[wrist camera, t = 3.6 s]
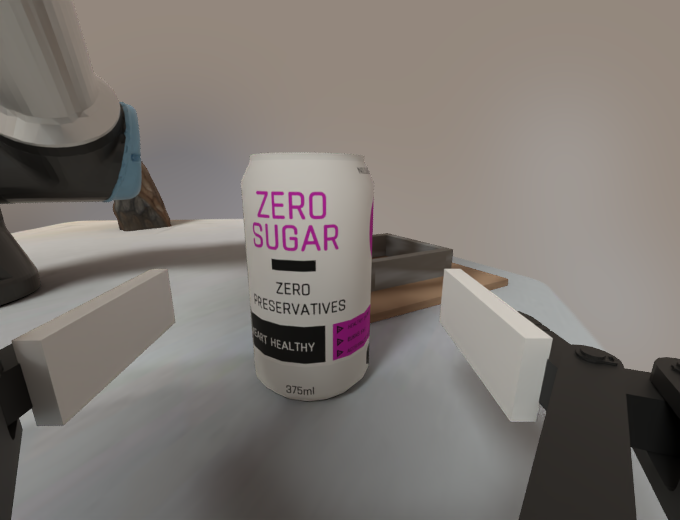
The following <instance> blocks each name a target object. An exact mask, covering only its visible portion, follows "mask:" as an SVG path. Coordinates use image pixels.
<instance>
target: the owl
mask: <svg viewBox="0 0 680 520" xmlns="http://www.w3.org/2000/svg"><path fill="white" fill-rule="evenodd" d="M141 173H142V179H141V190H140V192H139V194H138V195H137V196H136V197H134V198H132V199H125V200H114V204H113V212H114V214H115V216H116V217H117V220H118V224H119V228H120V230H123V231H135V230H144V229H152V228H161V227H169V226H171V224H170V218H169V216H168V213H167V211H166V209H165V206H164V203H163V201H162V199H161V196H160V194H159V192H158V190H157V188H156V186H155V184H154V182H153V180H152V178H151V176H150V174H149V172H148V170H147V168H146V167H145V165H144V164H143V163H142V161H141Z"/></svg>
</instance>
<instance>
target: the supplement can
mask: <svg viewBox="0 0 680 520" xmlns="http://www.w3.org/2000/svg"><path fill="white" fill-rule="evenodd" d="M241 191H242V204H243V218H244V231H245V244H246V257H247V270H248V283H249V296H250V309H251V322H252V335H253V348H254V361H255V369H256V375H257V378H258V379H259V380H260V381H261V382H262V383H263V384H264V385H265V386H266V387H267V388H269V389H271V390H273V391H274V392H275V393H277V394H279V395H282V396H284V397H286V398H288V399H294V400H302V401H314V400H323V399H328V398H331V397H334V396H336V395H339V394H342V393H344V392H345V391H346V390H348V389H349V388H350V387H352V386H353V385H354V384H355V383H357V382H358V381H359V380H360V379H362V378H363V376H364V374H365V372H366V370H367V368H368V365H369V332H370V299H371V266H372V232H373V200H374V181H373V179H372V177H371V175H370V173H369V171H368V168H367V166H366V164H365V162H364V156H362V155H354V154H339V153H261V154H251V155H250V162H249V165H248V167H247V169H246V171H245V174H244V176H243V178H242V180H241Z"/></svg>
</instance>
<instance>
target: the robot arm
mask: <svg viewBox="0 0 680 520" xmlns="http://www.w3.org/2000/svg"><path fill="white" fill-rule="evenodd" d="M140 156H141V154H140V135H139V125H138V118H137V113H136V110H135V109H134V108H133V107H132V106H131V105H127V104H125V103H123V102H119V100H118V98H117V96H116V94H115V92H114V90H113V89H112V88H111V87H110V86H109V84H107V82H105V81H104V80H103V79H102V78H100V77H99V76H98V75H96V74H95V73H94V71H93V68H92V65H91V61H90V58H89V54H88V51H87V47H86V44H85V41H84V37H83V34H82V31H81V27H80V24H79V20H78V17H77V13H76V10H75V6H74V3H73V0H0V204H8V203H45V202H110V201H112V200H125V199H132V198H134V197H136V196H137V195H138V194H139V192H140V190H141V179H142V173H141V158H140ZM40 286H41V282H40V278H39V274H38V270H37V268H36V266H35V265H34V264H33V262H32V261H31V260H30V258H29V257H28V256H27V255H26V253H25V252H24V251H23V249H22V248H21V247H20V245H19V244H18V243H17V241H16V240H15V239H14V237H13V236H12V235H11V233H10V232H9V231H8V230H7V228H6V226H5V223H4V220H3V216H2V213H1V209H0V305H2V304H6V303H9V302H11V301H14V300H17V299H19V298H22V297H24V296H26V295H29V294H31V293H32V292H34V291H36V290H37V289H38V288H39V287H40ZM439 322H440V323H441V324H442V326H443V327H444V329H445V330H446V332H447V333H448V334H449V336H450V337H451V339H452V340H453V341H454V343H455V344H456V346H457V347H458V348H459V350H460V351H461V353H462V354H463V355H464V357H465V358H466V360H467V361H468V363H469V364H470V365H471V367H472V368H473V370H474V371H475V372H476V374H477V375H478V377H479V378H480V379H481V381H482V382H483V384H484V385H485V386H486V388H487V389H488V391H489V392H490V394H491V395H492V396H493V398H494V399H495V401H496V402H497V403H498V405H499V406H500V408H501V409H502V410H503V412H504V413H505V415H506V416H507V417H508V419H509V420H510V422H536V420H537V415H538V410H539V405H540V404H541V406H542V407H543V408H544V409H545V410H546V411H547V412H546V416H545V420H544V424H543V428H542V432H541V435H540V439H539V443H538V447H537V451H536V455H535V459H534V462H533V466H532V470H531V474H530V478H529V482H528V486H527V489H526V493H525V497H524V501H523V505H522V509H521V513H520V516H519V520H637V519H636V508H635V496H634V484H633V472H632V460H631V448H630V447H632V448H633V450H634V452H635V454H636V456H637V458H638V460H639V462H640V464H641V466H642V468H643V470H644V472H645V474H646V476H647V478H648V480H649V482H650V484H651V486H652V488H653V490H654V492H655V494H656V496H657V498H658V500H659V502H660V504H661V506H662V508H663V510H664V512H665V514H666V516H667V518H668V520H680V359H676V358H668V357H665V358H658V359H657V360H656V361H655V362H654V365H653V369H652V372H651V373H649V372H643V371H636V370H631V369H625V368H624V366H623V364H622V362H621V361H620V360H619V359H617V358H616V357H615V356H613V355H611V354H609V353H607V352H605V351H602V350H599V349H596V348H593V347H589V346H584V345H571V344H569V343H568V342H566V341H565V340H564V339H562V338H561V337H559V336H558V335H557V334H555V333H554V332H552V331H550V329H548V328H547V327H546V326H544V325H542V324H541V323H540V322H539V321H537V320H536V319H534V318H533V317H531V316H529V315H527V314H524V313H522V312H520V311H516V310H514V309H513V308H512V307H510V306H509V305H508V304H506V303H505V302H504V301H502V300H501V299H500V298H498V297H497V296H496V295H494V294H493V293H492V292H490V291H489V290H488V289H487V288H485V287H484V286H483V285H481V284H480V283H479V282H477V281H476V280H475V279H473V278H472V277H471V276H469V275H468V274H467V273H465V272H464V271H463V270H461V269H444V278H443V288H442V299H441V309H440V320H439ZM174 323H175V316H174V309H173V302H172V295H171V288H170V281H169V275H168V269H150V270H148V271H146V272H145V273H143V274H141V275H139V276H137V277H135V278H133V279H131V280H129V281H127V282H125V283H123V284H121V285H119V286H117V287H115V288H113V289H111V290H109V291H107V292H105V293H104V294H102V295H100V296H98V297H96V298H94V299H92V300H90V301H88V302H86V303H84V304H82V305H80V306H78V307H76V308H74V309H72V310H70V311H68V312H66V313H64V314H63V315H61V316H59V317H57V318H55V319H53V320H51V321H49V322H47V323H45V324H43V325H41V326H39V327H37V328H35V329H33V330H31V331H29V332H27V333H25V334H23V335H22V336H20V337H18V338H16V339H14V340H12V344H10V345H8V346H7V347H5V348H3V349H1V350H0V520H11V515H12V507H13V499H14V492H15V484H16V476H17V468H18V461H19V453H20V445H21V437H22V430H23V429H22V426H21V423H20V420H19V417H21V416H22V415H23V414H25V413H26V412H27V411H29V410H30V409H31V408H32V411H33V414H34V417H35V421H36V424H37V426H64V425H65V424H66V423H67V422H68V421H69V420H70V419H71V418H72V417H74V416H75V415H76V414H77V413H78V412H79V411H80V410H81V409H82V408H83V407H84V406H85V405H87V404H88V403H89V402H90V401H91V400H92V399H93V398H94V397H95V396H96V395H97V394H98V393H100V392H101V391H102V390H103V389H104V388H105V387H106V386H107V385H108V384H109V383H110V382H111V381H112V380H114V379H115V378H116V377H117V376H118V375H119V374H120V373H121V372H122V371H123V370H124V369H125V368H127V367H128V366H129V365H130V364H131V363H132V362H133V361H134V360H135V359H136V358H137V357H138V356H140V355H141V354H142V353H143V352H144V351H145V350H146V349H147V348H148V347H149V346H150V345H151V344H153V343H154V342H155V341H156V340H157V339H158V338H159V337H160V336H161V335H162V334H163V333H164V332H166V331H167V330H168V329H169V328H170V327H171V326H172V325H173V324H174Z"/></svg>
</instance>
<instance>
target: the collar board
mask: <svg viewBox="0 0 680 520" xmlns="http://www.w3.org/2000/svg"><path fill="white" fill-rule="evenodd" d="M452 256H453V250H452V249H449V248H444V247H441V246H437V245H432V244H429V243H424V242H421V241H417V240H412V239H409V238H405V237H400V236H396V235H392V234H388V233H386V234H377V235H372V266H371V299H370V323H373V322H377V321H380V320H384V319H388V318H391V317H395V316H399V315H402V314H406V313H409V312H413V311H417V310H420V309H424V308H428V307H431V306H435V305H439V304H441V299H442V288H443V278H444V269H461V270H463V271H464V272H465V273H467V274H468V275H469V276H471V277H472V278H473V279H475V280H476V281H477V282H479V283H480V284H481V285H483V286H484V287H485V288H487V289H488V290H493V289H497V288H500V287H504V286H507V285H508V279H506V278H503V277H499V276H496V275H493V274H489V273H486V272H482V271H479V270H476V269H472V268H469V267H465V266H462V265H459V264H455V263H452Z"/></svg>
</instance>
